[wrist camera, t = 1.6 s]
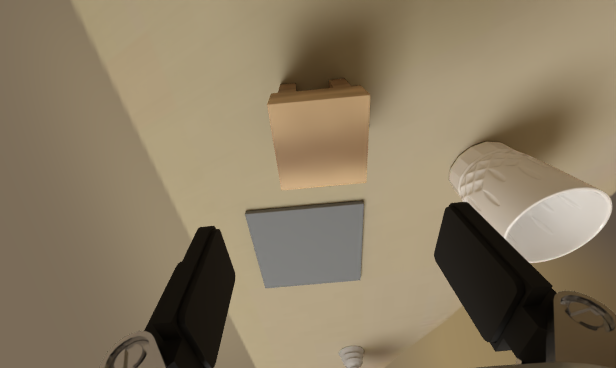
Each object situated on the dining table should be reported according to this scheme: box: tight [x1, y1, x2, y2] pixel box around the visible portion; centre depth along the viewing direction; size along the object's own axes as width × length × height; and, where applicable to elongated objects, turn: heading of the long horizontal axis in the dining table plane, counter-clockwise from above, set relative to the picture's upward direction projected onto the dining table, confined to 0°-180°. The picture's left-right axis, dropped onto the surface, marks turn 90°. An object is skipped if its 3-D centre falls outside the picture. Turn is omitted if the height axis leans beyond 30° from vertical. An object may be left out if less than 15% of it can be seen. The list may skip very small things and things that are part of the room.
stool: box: [267, 78, 370, 190], centre depth 21 cm, size 6×6×8 cm
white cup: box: [449, 142, 612, 263], centre depth 24 cm, size 8×8×10 cm
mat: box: [245, 201, 364, 288], centre depth 34 cm, size 14×14×1 cm
